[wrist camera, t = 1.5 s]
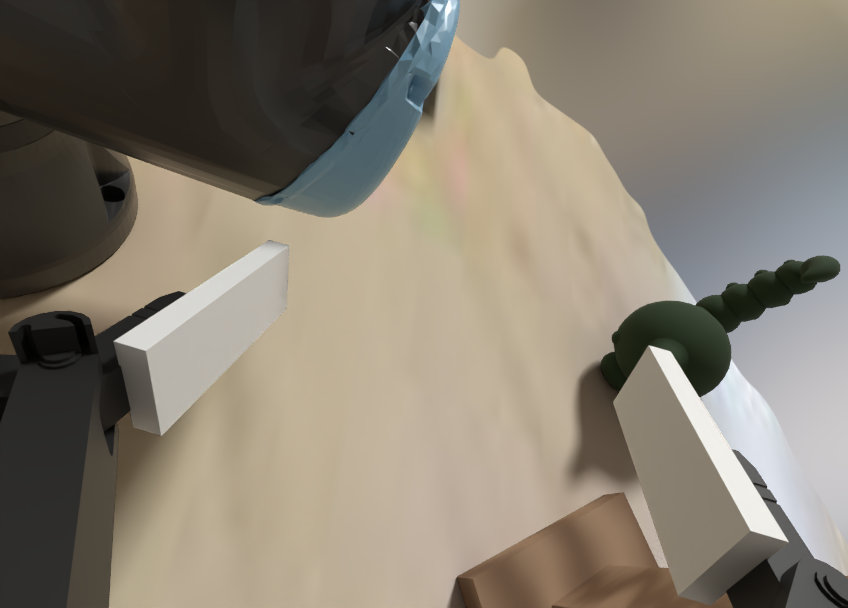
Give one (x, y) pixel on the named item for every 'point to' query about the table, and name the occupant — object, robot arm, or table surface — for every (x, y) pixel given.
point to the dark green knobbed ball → (708, 323)
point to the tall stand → (579, 566)
